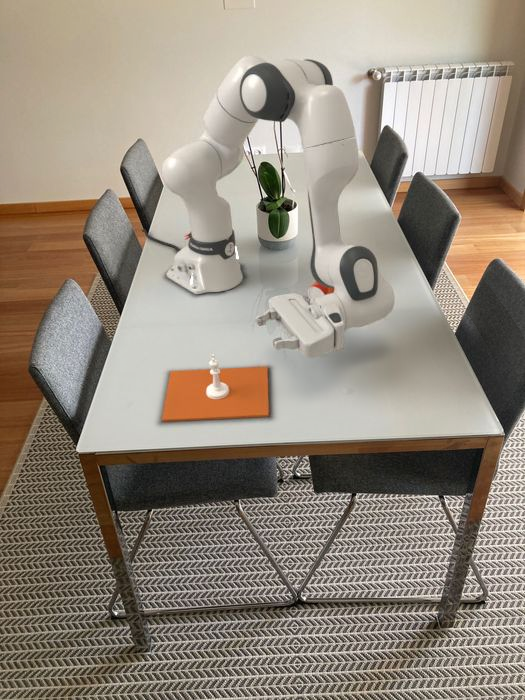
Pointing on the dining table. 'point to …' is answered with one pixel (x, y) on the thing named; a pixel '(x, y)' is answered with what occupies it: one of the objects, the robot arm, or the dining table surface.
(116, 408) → the dining table surface
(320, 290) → the coffee cup
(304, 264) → the dining table surface
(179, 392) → the cloth mat
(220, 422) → the dining table surface
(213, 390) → the chess piece
